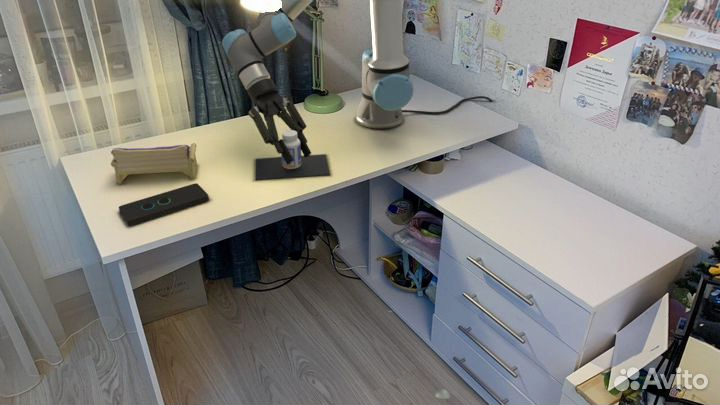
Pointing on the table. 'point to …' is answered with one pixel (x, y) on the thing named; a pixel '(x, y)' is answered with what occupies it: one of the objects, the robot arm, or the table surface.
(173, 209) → the smart home device
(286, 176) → the mat
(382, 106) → the robot arm
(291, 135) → the pill bottle
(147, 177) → the table surface
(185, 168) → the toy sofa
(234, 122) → the table surface
